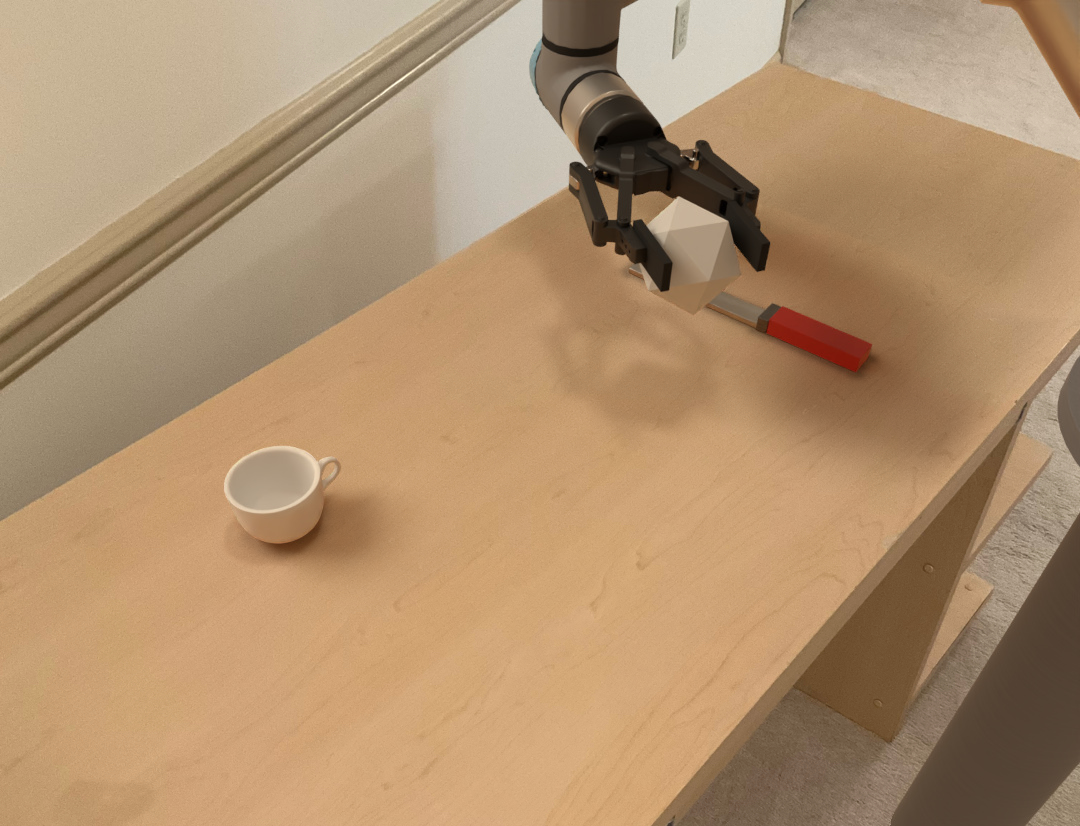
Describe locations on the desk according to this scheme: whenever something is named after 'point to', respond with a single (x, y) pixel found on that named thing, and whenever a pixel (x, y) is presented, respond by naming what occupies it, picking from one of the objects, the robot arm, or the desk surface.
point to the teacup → (278, 492)
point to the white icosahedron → (694, 255)
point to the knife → (792, 329)
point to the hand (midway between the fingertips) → (715, 267)
